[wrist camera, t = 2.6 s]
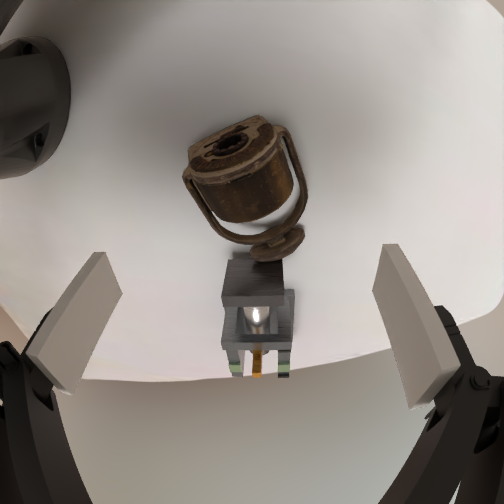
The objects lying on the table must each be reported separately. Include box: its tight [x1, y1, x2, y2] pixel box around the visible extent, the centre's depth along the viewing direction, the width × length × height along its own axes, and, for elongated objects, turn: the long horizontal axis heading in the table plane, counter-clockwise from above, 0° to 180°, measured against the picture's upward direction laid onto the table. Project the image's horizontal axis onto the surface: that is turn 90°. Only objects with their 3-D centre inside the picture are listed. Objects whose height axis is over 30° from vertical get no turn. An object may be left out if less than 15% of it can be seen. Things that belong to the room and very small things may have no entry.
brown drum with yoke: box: [182, 115, 308, 262], centre depth 21 cm, size 7×13×10 cm
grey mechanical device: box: [221, 259, 284, 377], centre depth 26 cm, size 10×5×8 cm, turn 4°
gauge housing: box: [221, 290, 295, 378], centre depth 30 cm, size 8×8×7 cm
